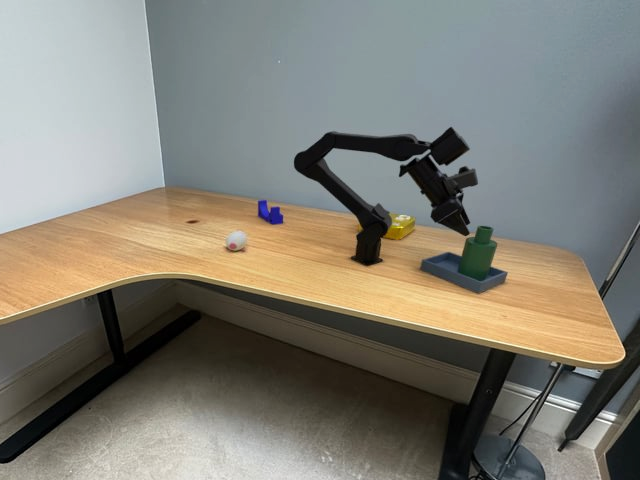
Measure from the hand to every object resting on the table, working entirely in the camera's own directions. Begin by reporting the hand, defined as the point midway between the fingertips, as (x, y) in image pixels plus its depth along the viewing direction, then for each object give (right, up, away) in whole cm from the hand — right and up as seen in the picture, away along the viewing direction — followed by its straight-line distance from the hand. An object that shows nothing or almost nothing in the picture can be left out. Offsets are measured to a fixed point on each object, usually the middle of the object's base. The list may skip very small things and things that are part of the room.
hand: (468, 229), depth 91 cm
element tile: (-7, +5, +38) cm, 39 cm away
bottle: (+3, -11, +4) cm, 13 cm away
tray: (+2, -11, +6) cm, 13 cm away
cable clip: (-46, +11, +50) cm, 69 cm away
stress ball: (-58, -3, +23) cm, 63 cm away
